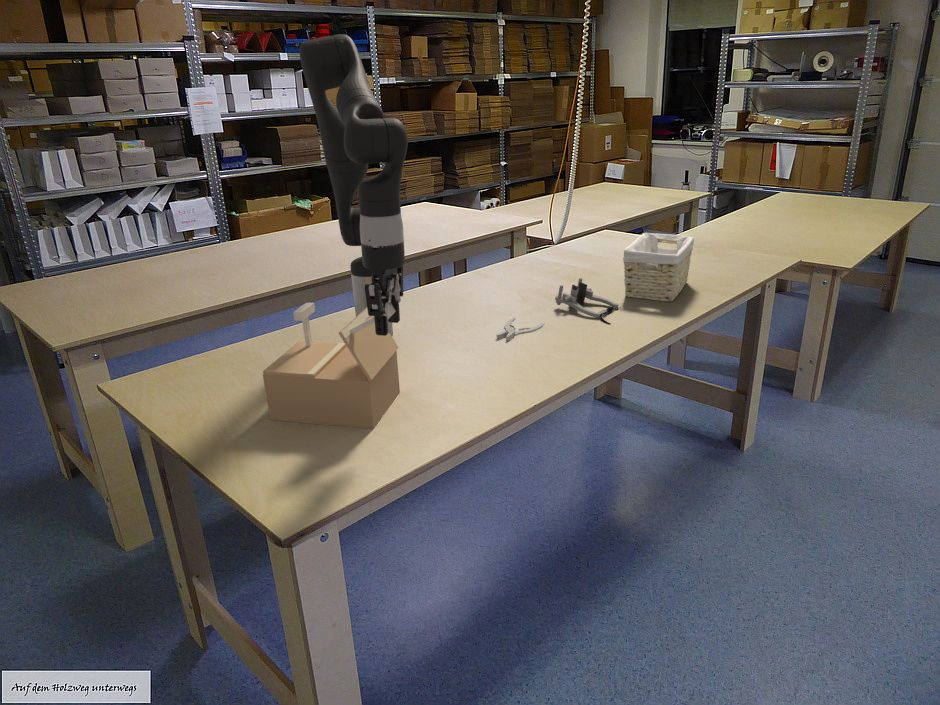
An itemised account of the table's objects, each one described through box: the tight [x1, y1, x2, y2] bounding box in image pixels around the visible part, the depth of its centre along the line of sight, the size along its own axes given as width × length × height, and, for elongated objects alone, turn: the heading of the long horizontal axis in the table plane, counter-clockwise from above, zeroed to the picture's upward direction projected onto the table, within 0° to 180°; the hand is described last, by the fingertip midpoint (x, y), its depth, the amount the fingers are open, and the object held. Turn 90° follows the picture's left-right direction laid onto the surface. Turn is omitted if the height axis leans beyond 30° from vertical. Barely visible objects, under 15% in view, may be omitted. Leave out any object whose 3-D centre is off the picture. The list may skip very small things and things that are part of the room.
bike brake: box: [554, 277, 620, 326], centre depth 185 cm, size 14×7×20 cm
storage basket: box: [622, 232, 695, 302], centre depth 199 cm, size 24×16×15 cm
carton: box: [262, 302, 401, 430], centre depth 134 cm, size 16×22×19 cm
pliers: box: [496, 317, 546, 342], centre depth 174 cm, size 10×2×15 cm
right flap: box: [338, 303, 399, 381], centre depth 128 cm, size 16×11×9 cm
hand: (388, 328), depth 123 cm, fingers closed on right flap, 6 cm apart
